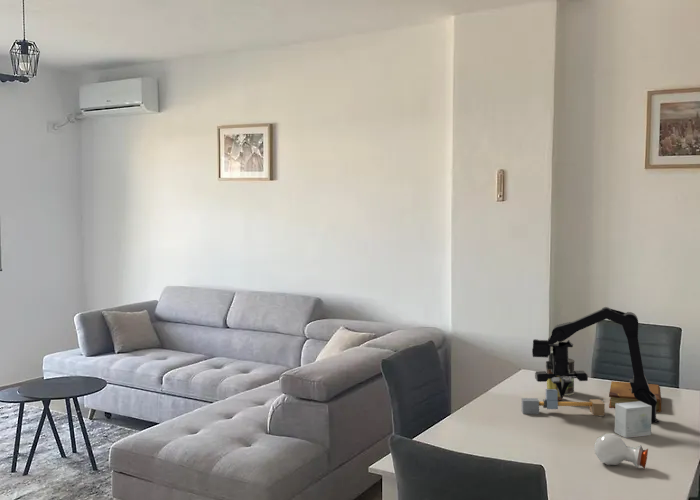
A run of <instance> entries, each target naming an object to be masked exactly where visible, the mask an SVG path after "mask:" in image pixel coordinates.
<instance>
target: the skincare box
mask: <svg viewBox="0 0 700 500" xmlns="http://www.w3.org/2000/svg"><path fill="white" fill-rule="evenodd" d="M651 416H652V406H650V405H648V404H646V403H643V402H641V401H636V402H625V403H616V404H615V408H614V431H613V432H614V434H616V435H618V436H620V437H621V436H622V437H623V438H636V437H645V436H651V435H652V422H651Z"/></svg>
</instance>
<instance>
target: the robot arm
mask: <svg viewBox="0 0 700 500" xmlns="http://www.w3.org/2000/svg"><path fill="white" fill-rule="evenodd" d="M604 320H609V321H612V322H613V323H615V324H618V325H621V326H622V328H623V332H624V334H625V337H626V339H627V343H628V349H629V355H630V356H629V357H630V361H631V367H632V368H631V369H632V372H633V377H632V378H629V383H630V385H631V393H632V394H633V393H634V396H635V398H636V399H637V400H639V401H641V402H643V403H646V404H648V405H650V406H652V416H651V423H660V420H659V419H658V418H657V412H656V404H657V400H656V396H655V395H654V394H653V393H652V392H651V391H650V388H649V385H648V384H649V383H648V380H647V378H646V376H645V375H646V374H645V373H644V367H643V361H642V360H643V359H642V354H641V349H640V344H639V319H638V316H637V314H635V313H633V312H631V311H627V312H624V311H621V310H618V309H613V308H611V307H608V306H605V307H602V308H600V309H599V310H596V311H594V312H591V313H589V314H588V315H585V316H582V317H581V318H578V319H576V320H573V321H568V322H562V323H559V324H556V325H555V326H553V328H552V331H551V334H550V336H549V337H548V339H533V340H532V342H533V343H532V352H531V353H532V354H531V355H532V357H533V358H545V359H546V358H548V359H549V355H551V351H553V363H551V361H549V360H547V361H545V370H541V371H539V370H537V371H535V372H534V378H535V380H536V381H537V382H538V383H539V382H540V383H541V382H543V383H544V382H545V383H547V380H548V379H551V381H552V382H553V383H554V384H556V386H557V388H558V391H559V394H560V397H561V398H563V399H564V397H565V396H564V394H565V391H566V389H567V387H568V385H569V384H570V383H572V381H571V378H574V379H577V380H578V381H579V382H587V381H589V376H588V373H586V371H584V370H574V373H569V362H568V358H569V348H573V347H574V343H572V341H570V339H569V338H570V337H572V336H573V335H574V334H576V333H577V332H579V331H582V330H584V329H586V328H588V327H590V326H593V325H595V324H597V323H600V322H602V321H604ZM566 340H567V341H566ZM547 370H551V372H552V373H553V374H547ZM560 378H561V381H560Z"/></svg>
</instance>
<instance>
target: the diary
mask: <svg viewBox="0 0 700 500" xmlns="http://www.w3.org/2000/svg"><path fill="white" fill-rule="evenodd" d="M648 385H649V388H650V391H651V392H652V393H653V394H654V395H655V396H656V400H657V404H656V413H661V412H662V395H661V394H662V393H661V392H662V391H661V387H660V385H659V384H652V383H648ZM608 398H610V399H609V405H608V408H609V409H615V404H616V403H625V402H636V401H639V400H637V399H636V398H635V396H634V393H633V394H632V393H631V385H630V381H629V382H627V381H615V380H614V381H612V380H611V384H610V388H609V393H608Z"/></svg>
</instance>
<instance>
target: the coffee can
mask: <svg viewBox="0 0 700 500" xmlns="http://www.w3.org/2000/svg"><path fill="white" fill-rule="evenodd" d="M568 362H569V373H574V371H575V359H573V358H569V357H568ZM571 381H572V383H570V384H569V385H568V387H567V389H566V391H565V394H564V396H563V397H565V396H571V395H574V394H575V378H571Z"/></svg>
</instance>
